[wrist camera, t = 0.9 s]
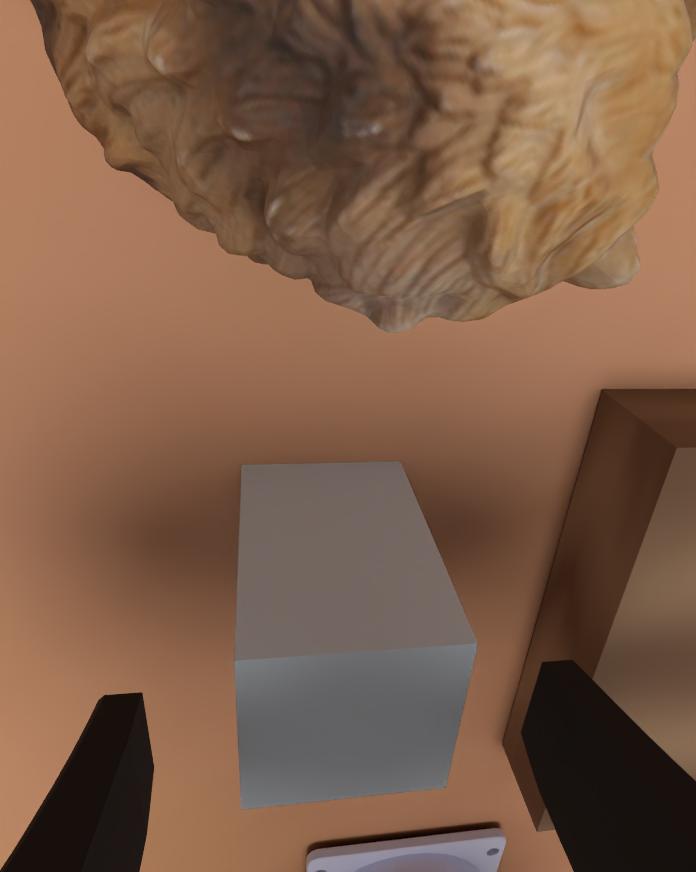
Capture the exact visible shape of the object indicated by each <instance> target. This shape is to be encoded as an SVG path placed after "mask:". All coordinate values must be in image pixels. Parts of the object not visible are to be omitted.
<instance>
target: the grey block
mask: <svg viewBox="0 0 696 872" xmlns="http://www.w3.org/2000/svg"><path fill="white" fill-rule="evenodd" d="M477 646H478V642H477V640H476V638H475V635H474V633H473V631H472V628H471V626H470V624H469V621H468V619H467V616H466V614H465V612H464V609H463V607H462V605H461V602H460V600H459V598H458V595H457V593H456V591H455V588H454V586H453V584H452V581H451V579H450V577H449V574H448V572H447V570H446V567H445V565H444V563H443V560H442V558H441V555H440V553H439V551H438V548H437V546H436V544H435V541H434V539H433V537H432V534H431V532H430V530H429V527H428V525H427V523H426V520H425V518H424V516H423V513H422V511H421V509H420V506H419V504H418V501H417V499H416V497H415V494H414V492H413V490H412V487H411V485H410V483H409V480H408V478H407V476H406V473H405V471H404V469H403V466H402V464H401V462H400V461H394V462H346V463H299V464H252V465H242V470H241V496H240V523H239V549H238V575H237V601H236V627H235V654H234V666H235V687H236V708H237V729H238V750H239V771H240V792H241V810H244V809H253V808H262V807H272V806H281V805H290V804H299V803H309V802H318V801H327V800H336V799H345V798H355V797H364V796H373V795H382V794H392V793H401V792H410V791H419V790H429V789H438V788H446V784H447V779H448V775H449V771H450V766H451V762H452V757H453V753H454V748H455V744H456V739H457V735H458V730H459V726H460V721H461V717H462V713H463V708H464V704H465V699H466V695H467V690H468V686H469V681H470V677H471V672H472V668H473V663H474V659H475V655H476V650H477Z"/></svg>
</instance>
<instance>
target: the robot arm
mask: <svg viewBox="0 0 696 872" xmlns="http://www.w3.org/2000/svg"><path fill="white" fill-rule="evenodd" d="M521 735H522V739H523V742H524V745H525V749H526V752H527V755H528V759H529V762H530V765H531V768H532V771H533V774H534V778H535V781H536V784H537V787H538V790H539V792H540V795H541V797H542V800H543V802H544V804H545V807H546V809H547V811H548V814H549V816H550V818H551V821H552V823H553V825H554V827H555V830H556V832H557V834H558V837H559V839H560V841H561V844H562V846H563V848H564V850H565V853H566V855H567V857H568V859H569V862H570V864H571V866H572V869H573V871H574V872H696V781H695V780H694V779H693V778H692V777H691V776H690V775H689V774H688V773H687V772H686V771H685V770H684V769H683V768H682V767H680V766H679V765H678V764H677V763H676V762H675V761H674V760H673V759H672V758H671V757H670V756H669V755H668V754H667V753H666V752H665V751H664V750H663V749H662V748H661V747H660V746H659V745H657V744H656V743H655V742H654V741H653V740H652V739H651V738H650V737H649V736H648V735H647V734H646V733H645V732H644V731H643V730H642V729H641V728H640V727H639V726H638V725H637V724H636V723H635V722H634V721H633V720H632V719H631V718H630V717H629V716H628V715H627V714H626V713H625V712H624V711H623V710H622V709H621V708H620V707H619V706H618V705H617V704H616V703H615V702H614V701H613V700H612V699H611V698H610V697H609V696H608V695H607V694H606V693H605V692H604V691H603V690H602V689H601V688H600V687H599V686H598V685H597V684H596V683H595V682H594V681H593V680H592V679H591V677H590V676H589V675H588V674H587V673H586V672H585V671H584V670H583V669H582V668H581V667H580V666H579V665H578V664H577V663H576V662H575V661H573V660H560V661H547V662H542V664H541V667H540V671H539V674H538V677H537V680H536V684H535V687H534V690H533V693H532V697H531V700H530V703H529V707H528V710H527V713H526V716H525V720H524V723H523V726H522V729H521ZM153 773H154V764H153V757H152V751H151V745H150V738H149V732H148V726H147V719H146V713H145V707H144V700H143V694H142V692H141V693H128V694H115V695H104V696H103V697H102V698H101V699H100V700H98V702H97V704H96V706H95V709H94V711H93V713H92V715H91V717H90V719H89V721H88V723H87V725H86V726H85V728H84V730H83V732H82V734H81V736H80V738H79V740H78V742H77V744H76V745H75V747H74V749H73V751H72V753H71V755H70V756H69V758H68V760H67V762H66V764H65V765H64V767H63V769H62V771H61V772H60V774H59V776H58V778H57V779H56V781H55V783H54V785H53V786H52V788H51V790H50V791H49V793H48V795H47V796H46V798H45V800H44V801H43V803H42V805H41V806H40V808H39V810H38V811H37V813H36V815H35V816H34V818H33V819H32V821H31V823H30V824H29V826H28V828H27V829H26V831H25V833H24V834H23V836H22V838H21V839H20V841H19V842H18V844H17V846H16V847H15V849H14V850H13V852H12V853H11V855H10V856H9V858H8V859H7V861H6V862H5V864H4V865H3V867H2V868H1V870H0V872H139V871H140V866H141V861H142V856H143V851H144V846H145V841H146V836H147V828H148V819H149V810H150V802H151V792H152V782H153ZM505 845H506V837H505V835H504V832H503V831H502V830H501V829H498V828H490V829H482V830H473V831H465V832H456V833H448V834H439V835H431V836H422V837H414V838H406V839H397V840H389V841H380V842H372V843H363V844H355V845H346V846H338V847H330V848H321V849H316V850H314V851H311V852H310V853H309V854H308V856H307V859H306V872H497V869H498V866H499V863H500V860H501V857H502V854H503V851H504V848H505Z"/></svg>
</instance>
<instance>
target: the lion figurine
mask: <svg viewBox="0 0 696 872" xmlns="http://www.w3.org/2000/svg"><path fill="white" fill-rule="evenodd" d="M30 1H31V2H32V4H33V6H34V8H35V10H36V13H37V16H38V18H39V21H40V23H41V26H42V32H43V38H44V45H45V50H46V53H47V55H48V57H49V60H50V62H51V64H52V66H53V68H54V71H55V73H56V75H57V77H58V79H59V81H60V83H61V86H62V89H63V91H64V94H65V97H66V99H67V100H68V102H69V105H70V107H71V110H72V112H73V114H74V116H75V118H76V119H77V121H78V122H79V123H80V124H81V125H82V127H83V128H84V129H86V130H87V131H88V132H90V133H91V134H93V135H94V136H95V137H96V138H97V139H98V141H99V142H100V143H101V145H102V146H103V148H104V156H105V160H106V162H107V163H108V164H109V165H110V166H111V167H112V168H114V169H116V170H119V171H126V172H131V173H133V174H134V175H136V176H138V177H139V178H141V179H142V180H144V181H145V182H146V183H148V184H149V185H150V186H151V187H153V188H154V189H155V190H157V191H159V192H160V193H161V194H163V195H164V196H165V197H167V198H168V199H170V200H171V201H173V202H174V204H175V207H176V209H177V212H178V213H179V215H180V216H181V217H182V218H184V219H185V220H186V221H187V222H189V223H190V224H191V225H193V226H194V227H196V228H197V229H199V230H203V231H207V232H211V233H216V235H217V239H218V242H219V245H220V246H221V247H222V248H223V249H224V250H225V251H226V252H227V253H228V254H234V255H242V256H248V257H249V258H250V259H251V260H252V261H254V262H256V263H261V264H269V265H270V266H271V267H272V268H273V269H274V270H275V271H277V272H278V273H280V274H282V275H283V276H286V277H289V278H292V279H303V278H308V279H310V280H311V281H312V284H313V287H314V289H315V292H316V293H317V294H318V295H319V296H320V297H322V298H323V299H324V300H325V301H328V302H331V303H334V304H337V305H340V306H343V307H346V308H349V309H352V310H354V311H357V312H359V313H361V314H363V315H365V316H367V317H368V318H369V319H370V320H371V321H372V322H373V323H374V324H375V325H376V326H377V327H379V328H380V329H382V330H384V331H386V332H400V331H404V330H408V329H411V328H413V327H415V326H416V325H417V324H419V323H420V322H421V321H422V320H424V319H425V318H426V317H440V318H444V319H447V320H451V321H460V322H463V321H472V320H480V319H483V318H485V317H487V316H489V315H490V314H492V313H494V312H495V311H497V310H499V309H500V308H502V307H503V306H505V305H508V304H511V303H514V302H517V301H519V300H522V299H525V298H528V297H530V296H533V295H536V294H539V293H541V292H543V291H546V290H548V289H550V288H551V287H553V286H555V285H556V284H558V283H560V282H562V281H565V282H568V283H571V284H573V285H576V286H579V287H584V288H589V289H607V288H614V287H618V286H622V285H625V284H628V283H629V282H630V281H631V279H632V278H633V277H634V275H635V274H636V273H637V272H638V270H639V269H640V259H639V256H638V253H637V238H636V234H635V230H634V227H633V225H634V224H635V223H637V222H638V221H639V220H640V219H641V218H642V217H643V216H644V215H645V214H646V213H647V212H648V211H649V209H650V208H651V206H652V204H653V202H654V201H655V199H656V196H657V193H658V190H659V185H658V179H657V172H656V168H655V165H654V161H653V157H652V153H653V149H654V147H655V145H656V144H657V142H658V141H659V139H660V138H661V136H662V134H663V133H664V131H665V130H666V128H667V126H668V124H669V122H670V119H671V116H672V113H673V111H674V110H675V108H676V103H677V97H678V91H679V82H678V75H677V73H678V72H679V70H680V68H681V66H682V64H683V62H684V60H685V59H686V57H687V55H688V53H689V51H690V49H691V46H692V42H693V41H694V40H695V39H696V0H30Z"/></svg>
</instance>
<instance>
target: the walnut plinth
mask: <svg viewBox="0 0 696 872" xmlns="http://www.w3.org/2000/svg"><path fill="white" fill-rule="evenodd" d="M560 660H573V661H575V662H576V663H577V664H578V665H579V666H580V667H581V668H582V669H583V670H584V671H585V672H586V673H587V674H588V675H589V676H590V677H591V679H592V680H593V681H594V682H595V683H596V684H597V685H598V686H599V687H600V688H601V689H602V690H603V691H604V692H605V693H606V694H607V695H608V696H609V697H610V698H611V699H612V700H613V701H614V702H615V703H616V704H617V705H618V706H619V707H620V708H621V709H622V710H623V711H624V712H625V713H626V714H627V715H628V716H629V717H630V718H631V719H632V720H633V721H634V722H635V723H636V724H637V725H638V726H639V727H640V728H641V729H642V730H643V731H644V732H645V733H646V734H647V735H648V736H649V737H650V738H651V739H652V740H653V741H654V742H655V743H656V744H657V745H659V746H660V747H661V748H662V749H663V750H664V751H665V752H666V753H667V754H668V755H669V756H670V757H671V758H672V759H673V760H674V761H675V762H676V763H677V764H678V765H679V766H680V767H682V768H683V769H684V770H685V771H686V772H687V773H688V774H689V775H690V776H691V777H692V778H693V779H694V780H695V781H696V390H602V393H601V396H600V400H599V403H598V407H597V411H596V414H595V418H594V421H593V425H592V428H591V432H590V435H589V439H588V442H587V446H586V450H585V453H584V457H583V460H582V464H581V467H580V471H579V474H578V478H577V481H576V485H575V488H574V492H573V496H572V499H571V503H570V506H569V510H568V513H567V517H566V520H565V524H564V527H563V531H562V535H561V538H560V542H559V545H558V549H557V552H556V556H555V559H554V563H553V566H552V570H551V574H550V577H549V581H548V584H547V588H546V591H545V595H544V598H543V602H542V605H541V609H540V613H539V616H538V620H537V623H536V627H535V630H534V634H533V637H532V641H531V644H530V648H529V652H528V655H527V659H526V662H525V666H524V669H523V673H522V676H521V680H520V683H519V687H518V691H517V694H516V698H515V701H514V705H513V708H512V712H511V715H510V719H509V722H508V726H507V730H506V733H505V737H504V740H503V744H502V745H503V747H504V750H505V753H506V755H507V758H508V760H509V763H510V765H511V768H512V770H513V773H514V775H515V778H516V780H517V783H518V785H519V788H520V790H521V793H522V796H523V798H524V801H525V803H526V806H527V808H528V811H529V813H530V816H531V818H532V821H533V823H534V826H535V828H536V831H537V832H539V831H548V830H555V827H554V825H553V823H552V821H551V818H550V816H549V814H548V811H547V809H546V807H545V804H544V802H543V800H542V797H541V795H540V792H539V790H538V787H537V784H536V781H535V778H534V774H533V771H532V768H531V765H530V762H529V759H528V755H527V752H526V749H525V745H524V742H523V739H522V735H521V729H522V726H523V723H524V720H525V716H526V713H527V710H528V707H529V703H530V700H531V697H532V693H533V690H534V687H535V684H536V680H537V677H538V674H539V671H540V667H541V664H542V662H547V661H560Z"/></svg>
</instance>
